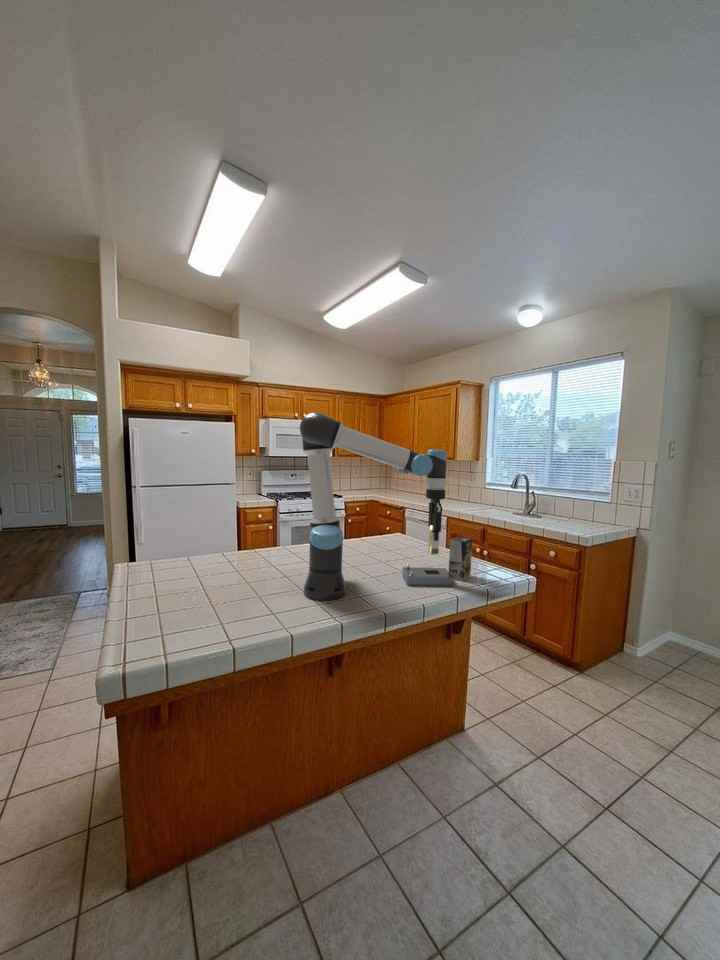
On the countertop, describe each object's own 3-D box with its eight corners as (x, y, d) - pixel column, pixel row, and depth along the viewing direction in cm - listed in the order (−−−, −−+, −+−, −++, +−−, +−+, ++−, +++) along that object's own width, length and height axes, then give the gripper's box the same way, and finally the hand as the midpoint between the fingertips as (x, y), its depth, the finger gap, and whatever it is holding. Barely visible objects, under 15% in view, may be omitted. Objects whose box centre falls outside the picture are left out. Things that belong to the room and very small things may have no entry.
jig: (406, 585, 149) (407, 572, 149) (402, 575, 161) (402, 563, 161) (452, 586, 150) (453, 573, 150) (445, 576, 162) (445, 564, 162)
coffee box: (462, 581, 156) (464, 542, 155) (447, 578, 160) (449, 539, 159) (471, 576, 163) (473, 538, 162) (456, 572, 167) (458, 536, 166)
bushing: (439, 554, 153) (440, 526, 152) (429, 553, 153) (430, 526, 152) (437, 551, 157) (438, 524, 156) (427, 551, 157) (428, 524, 156)
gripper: (451, 491, 145) (448, 552, 146) (440, 486, 162) (437, 542, 163) (431, 490, 144) (428, 552, 146) (422, 486, 161) (420, 541, 163)
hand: (433, 546), depth 155 cm, fingers closed on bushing, 4 cm apart
